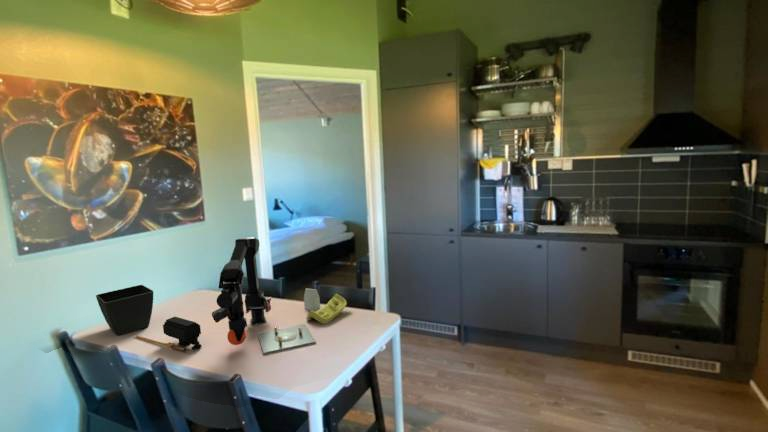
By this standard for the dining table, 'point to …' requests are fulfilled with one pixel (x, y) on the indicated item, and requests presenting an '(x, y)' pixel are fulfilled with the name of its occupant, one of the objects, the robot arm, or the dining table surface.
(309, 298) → the tea bag
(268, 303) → the pliers
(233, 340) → the clementine
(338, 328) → the dining table surface
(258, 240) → the robot arm
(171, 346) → the katana
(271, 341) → the nest plate
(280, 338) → the brass pins
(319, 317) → the plastic component
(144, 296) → the flower pot
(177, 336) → the security camera
